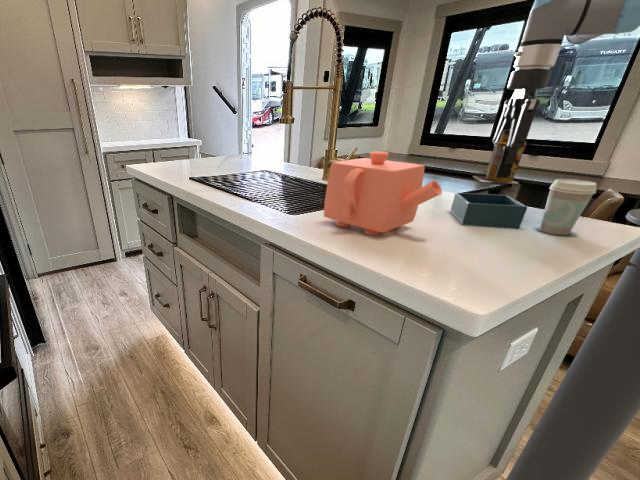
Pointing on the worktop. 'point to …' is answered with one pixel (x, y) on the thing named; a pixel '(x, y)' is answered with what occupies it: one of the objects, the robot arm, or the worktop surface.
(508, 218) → the box
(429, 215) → the worktop surface
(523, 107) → the robot arm
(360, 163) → the teapot
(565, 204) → the coffee cup
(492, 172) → the condiment
